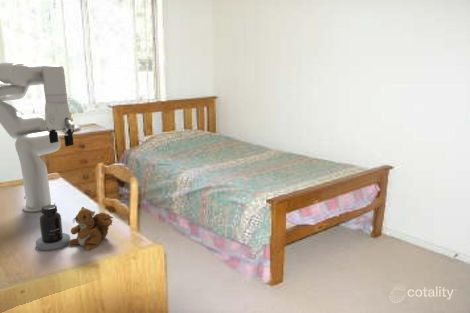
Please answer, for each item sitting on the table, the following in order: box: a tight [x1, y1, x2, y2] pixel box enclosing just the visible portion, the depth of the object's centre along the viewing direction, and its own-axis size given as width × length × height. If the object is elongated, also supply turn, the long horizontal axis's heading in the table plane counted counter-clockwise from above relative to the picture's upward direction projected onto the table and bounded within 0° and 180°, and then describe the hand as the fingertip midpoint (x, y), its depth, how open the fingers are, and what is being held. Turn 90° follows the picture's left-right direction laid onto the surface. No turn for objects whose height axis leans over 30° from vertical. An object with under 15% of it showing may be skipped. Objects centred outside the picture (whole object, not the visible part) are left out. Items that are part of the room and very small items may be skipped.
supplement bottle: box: [38, 204, 64, 243], centre depth 147 cm, size 7×7×12 cm
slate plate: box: [35, 232, 71, 252], centre depth 148 cm, size 11×11×2 cm
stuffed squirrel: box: [68, 206, 114, 252], centre depth 148 cm, size 10×14×13 cm
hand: (61, 144), depth 163 cm, fingers open, 9 cm apart
